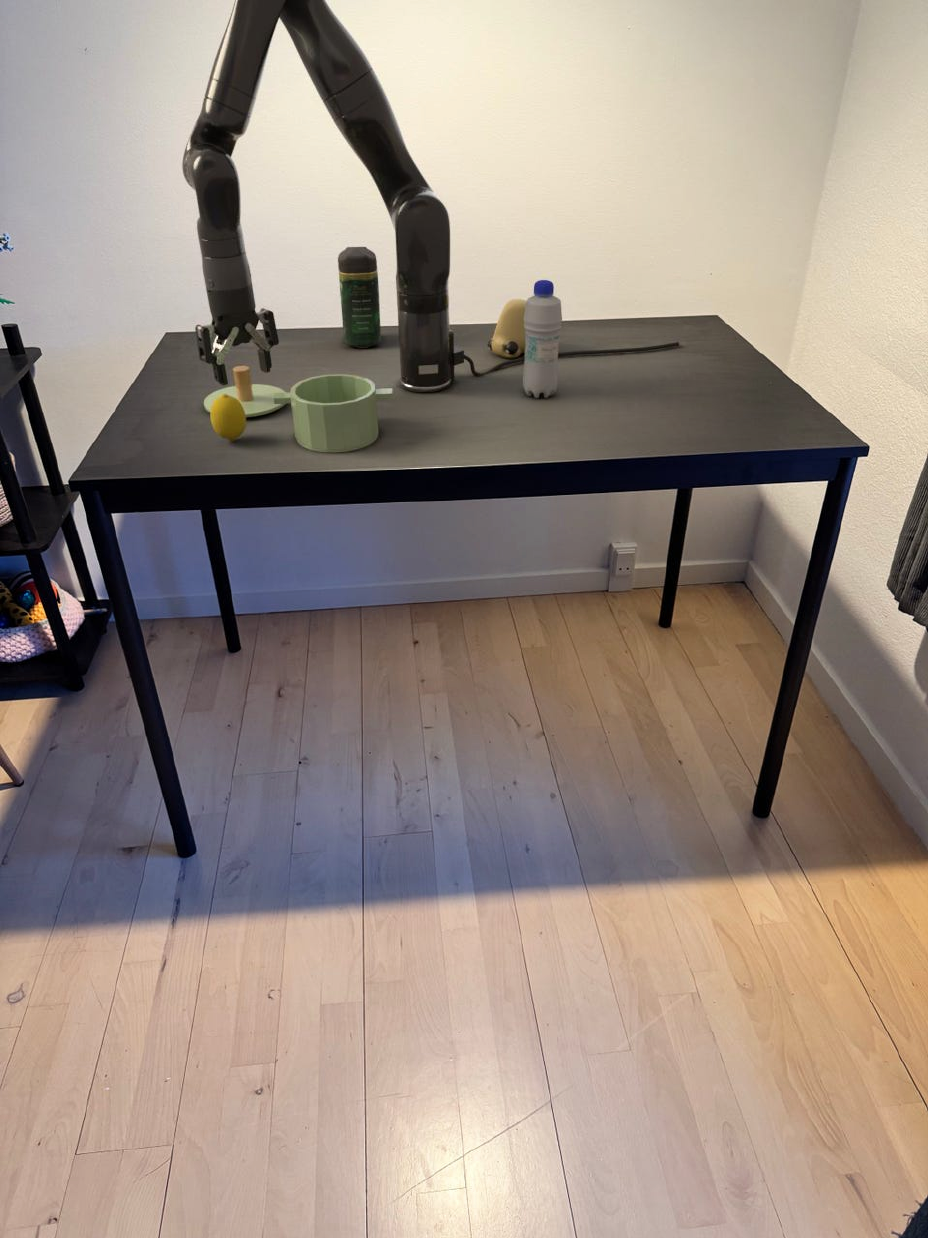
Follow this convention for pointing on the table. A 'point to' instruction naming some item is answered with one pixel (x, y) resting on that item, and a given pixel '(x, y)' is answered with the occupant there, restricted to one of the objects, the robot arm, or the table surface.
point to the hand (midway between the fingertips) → (244, 377)
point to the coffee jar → (359, 297)
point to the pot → (334, 411)
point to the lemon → (228, 417)
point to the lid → (248, 394)
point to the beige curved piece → (510, 330)
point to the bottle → (541, 340)
